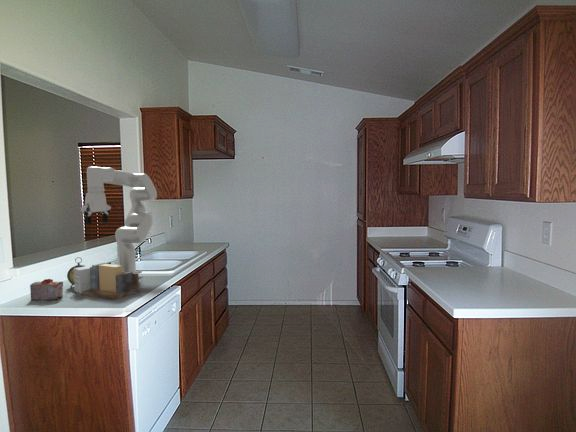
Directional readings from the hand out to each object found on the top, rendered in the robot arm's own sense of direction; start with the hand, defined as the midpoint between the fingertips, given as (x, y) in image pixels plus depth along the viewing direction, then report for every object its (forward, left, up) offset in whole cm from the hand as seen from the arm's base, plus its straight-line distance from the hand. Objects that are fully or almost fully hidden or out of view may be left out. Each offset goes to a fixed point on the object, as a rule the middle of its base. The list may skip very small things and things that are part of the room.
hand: (97, 223), depth 192 cm
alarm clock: (-2, -18, -36) cm, 41 cm away
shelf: (+1, +10, -36) cm, 37 cm away
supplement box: (+4, -6, -36) cm, 37 cm away
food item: (+21, -11, -37) cm, 43 cm away
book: (+1, +10, -35) cm, 36 cm away
